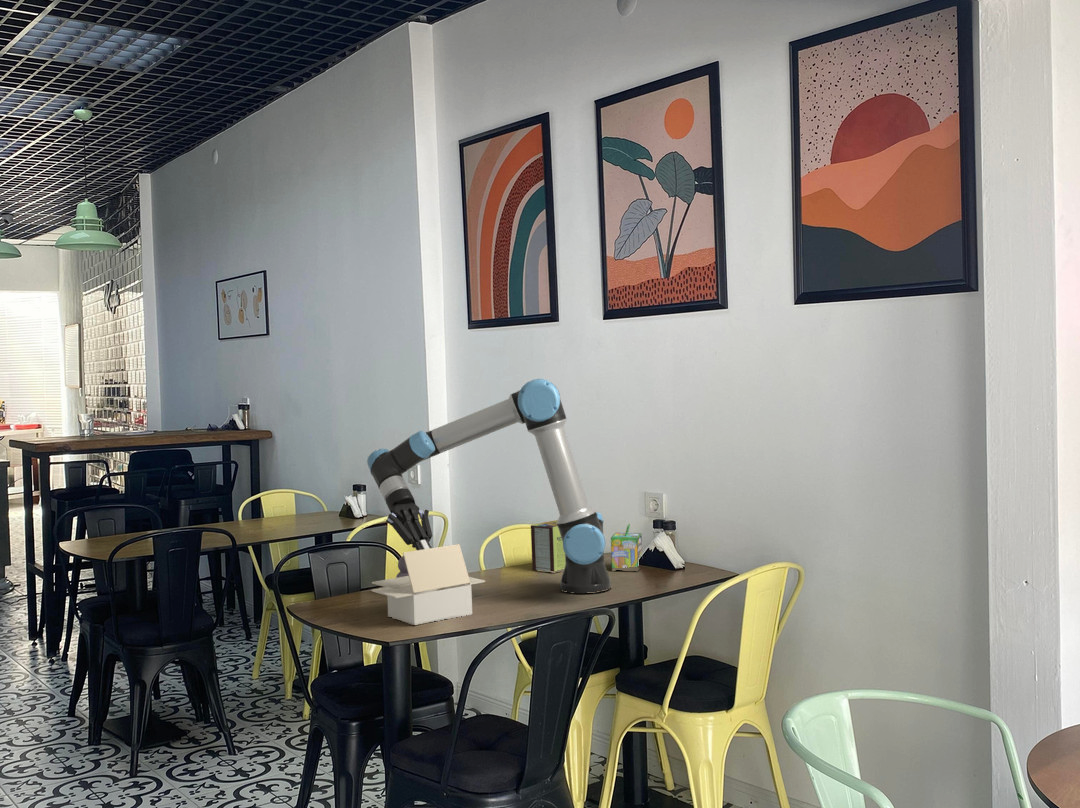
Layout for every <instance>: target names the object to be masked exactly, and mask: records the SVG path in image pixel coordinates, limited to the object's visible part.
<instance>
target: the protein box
mask: <svg viewBox="0 0 1080 808" xmlns="http://www.w3.org/2000/svg"><path fill="white" fill-rule="evenodd" d="M557 521H558V519H556V520H550V521H545V522H539V523H534V524H531V525H530V537H531V538H530V540H531V541H530V542H531V543H530V545H531V564H532V571H533V570H543V571H557V570H561V569H564V568H565V552H564V549H563V541H562V538H561V535H560V532H559V528H558V525H557Z"/></svg>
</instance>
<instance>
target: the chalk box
mask: <svg viewBox="0 0 1080 808" xmlns="http://www.w3.org/2000/svg"><path fill="white" fill-rule="evenodd" d="M630 526H631V524H630V523H629V524H628V525H627V526H626V530H625V532H615V533H613V535H612V536H611V537H610V549H611V550H610V552H611V553H610V555H611V569H612V568H625V567H626V568H627V567H628V568H629V567H638V566H639V559H640V557H641V555H642V556H643V544H642V543H643V539H642V538H643V537H642V536H643V534H642V532H629V531H630Z"/></svg>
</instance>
